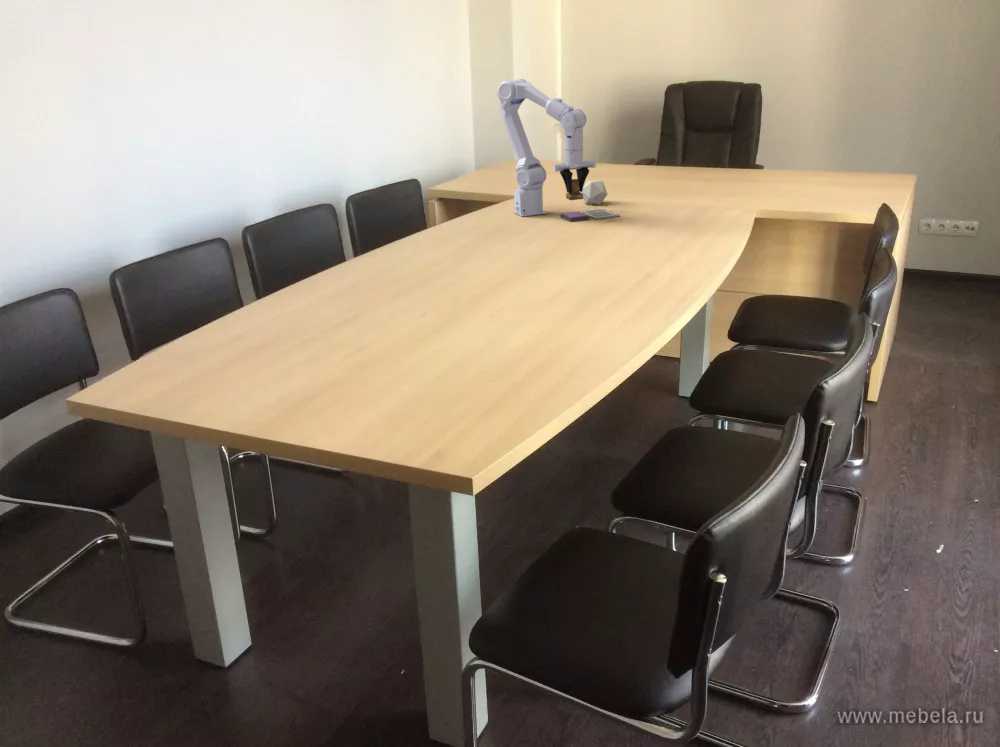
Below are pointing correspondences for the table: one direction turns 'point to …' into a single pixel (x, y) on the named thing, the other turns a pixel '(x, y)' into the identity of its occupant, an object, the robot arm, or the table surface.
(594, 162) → the robot arm
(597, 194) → the die
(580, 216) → the ink pad
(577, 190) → the stamp
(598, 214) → the grey framed plate
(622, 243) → the table surface
